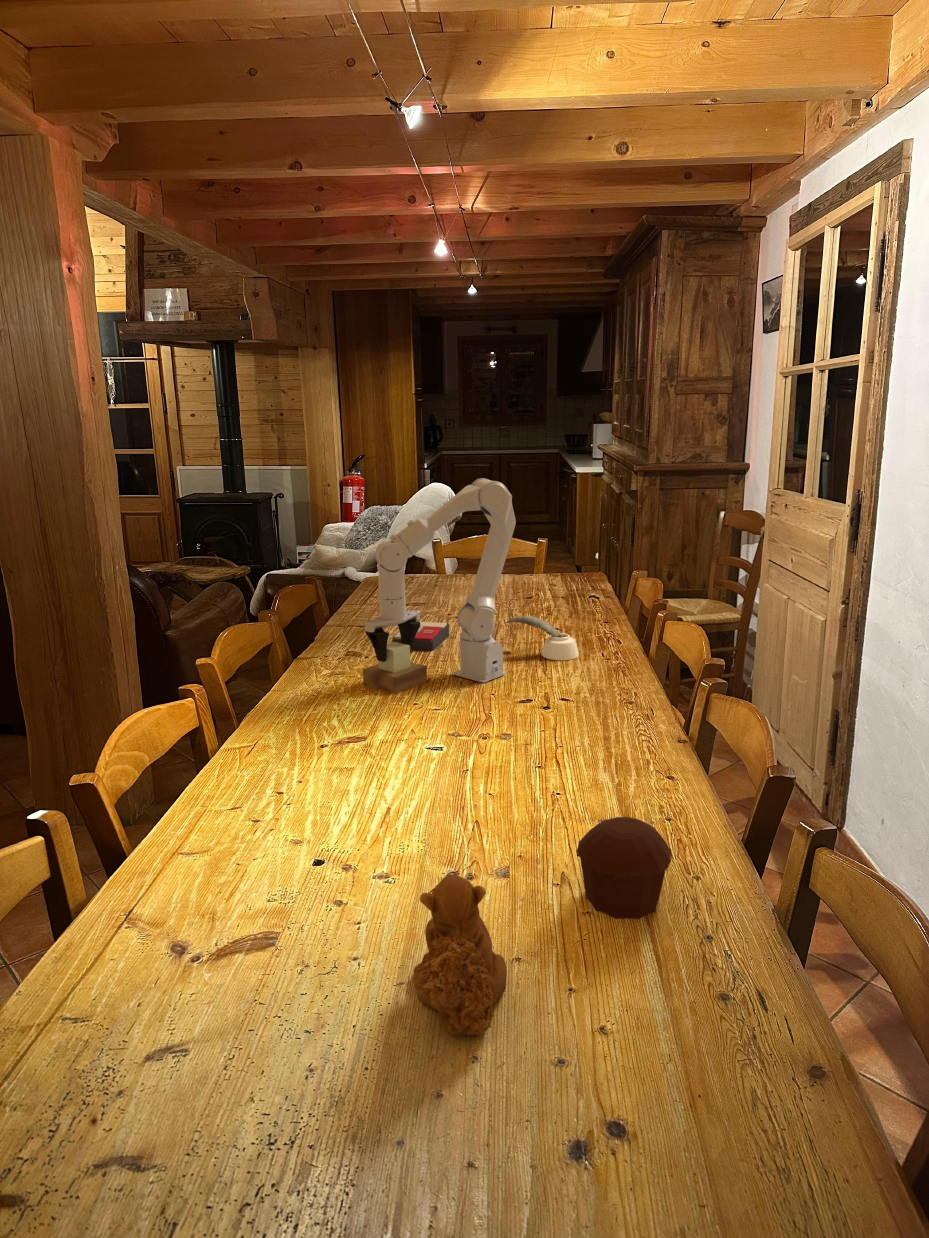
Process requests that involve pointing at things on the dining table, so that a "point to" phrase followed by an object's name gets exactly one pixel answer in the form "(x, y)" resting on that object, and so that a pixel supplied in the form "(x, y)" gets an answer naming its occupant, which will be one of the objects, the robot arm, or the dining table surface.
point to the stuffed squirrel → (459, 959)
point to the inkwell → (552, 640)
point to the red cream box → (428, 636)
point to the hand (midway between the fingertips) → (394, 657)
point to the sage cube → (396, 657)
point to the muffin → (623, 867)
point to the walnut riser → (395, 678)
